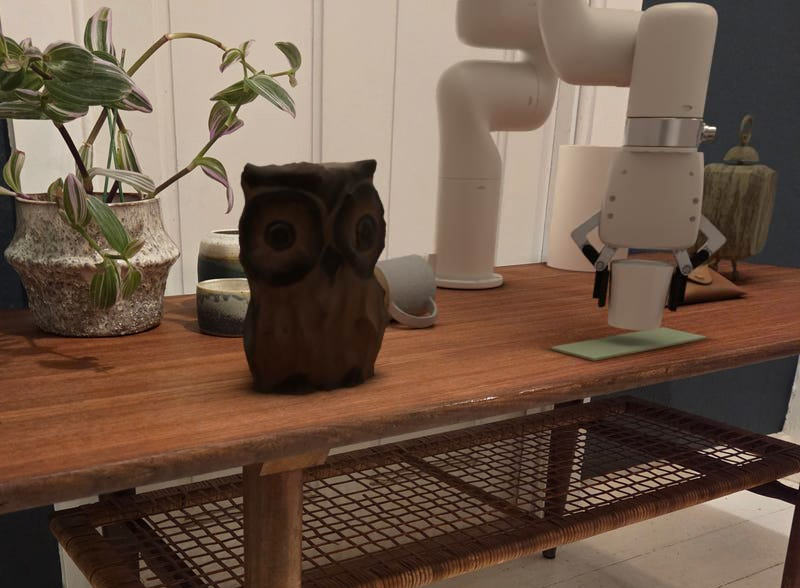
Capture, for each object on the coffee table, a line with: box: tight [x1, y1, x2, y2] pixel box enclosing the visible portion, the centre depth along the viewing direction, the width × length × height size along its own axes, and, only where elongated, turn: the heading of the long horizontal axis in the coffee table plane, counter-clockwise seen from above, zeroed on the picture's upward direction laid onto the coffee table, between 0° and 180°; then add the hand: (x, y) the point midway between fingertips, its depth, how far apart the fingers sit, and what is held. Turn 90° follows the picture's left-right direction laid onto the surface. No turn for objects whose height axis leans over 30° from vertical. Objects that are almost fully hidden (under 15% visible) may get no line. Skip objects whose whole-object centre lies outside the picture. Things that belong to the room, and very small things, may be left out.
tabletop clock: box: [687, 114, 779, 281], centre depth 140 cm, size 14×9×25 cm, turn 144°
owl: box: [237, 158, 391, 396], centre depth 80 cm, size 13×13×20 cm
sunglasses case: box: [665, 263, 749, 307], centre depth 128 cm, size 18×7×7 cm
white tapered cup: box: [607, 257, 677, 331], centre depth 98 cm, size 7×7×7 cm
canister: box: [546, 144, 629, 273], centre depth 153 cm, size 14×14×20 cm
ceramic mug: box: [374, 253, 438, 329], centre depth 109 cm, size 11×8×8 cm
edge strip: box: [550, 326, 708, 362], centre depth 100 cm, size 20×6×1 cm, turn 124°
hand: (636, 306), depth 99 cm, fingers closed on white tapered cup, 6 cm apart
